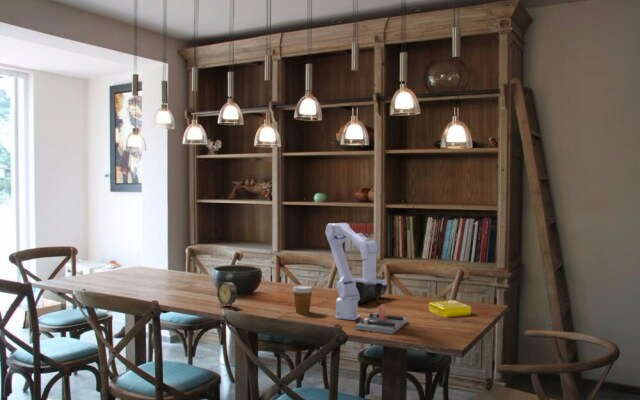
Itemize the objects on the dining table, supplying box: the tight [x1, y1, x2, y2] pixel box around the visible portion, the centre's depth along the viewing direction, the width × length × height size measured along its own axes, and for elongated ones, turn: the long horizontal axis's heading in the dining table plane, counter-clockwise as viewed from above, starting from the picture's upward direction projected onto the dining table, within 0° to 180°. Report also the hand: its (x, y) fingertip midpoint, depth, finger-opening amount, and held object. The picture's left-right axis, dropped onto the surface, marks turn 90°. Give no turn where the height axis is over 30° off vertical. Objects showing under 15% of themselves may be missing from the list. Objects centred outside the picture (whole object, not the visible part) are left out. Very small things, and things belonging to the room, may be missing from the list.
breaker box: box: [355, 312, 408, 335], centre depth 246 cm, size 16×22×4 cm
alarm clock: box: [216, 273, 238, 309], centre depth 284 cm, size 11×5×16 cm, turn 47°
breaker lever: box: [378, 303, 386, 321], centre depth 246 cm, size 1×5×6 cm, turn 156°
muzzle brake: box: [358, 278, 388, 305], centre depth 298 cm, size 10×28×10 cm, turn 147°
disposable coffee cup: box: [292, 284, 314, 315], centre depth 272 cm, size 10×10×12 cm
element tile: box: [428, 299, 472, 318], centre depth 272 cm, size 15×15×5 cm
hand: (369, 300), depth 248 cm, fingers open, 6 cm apart
